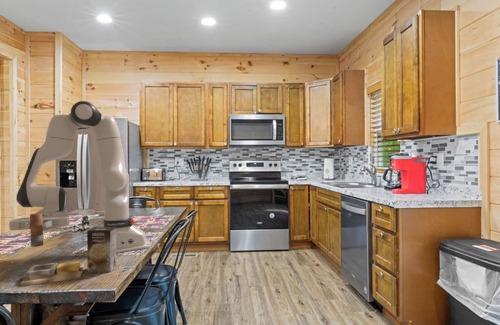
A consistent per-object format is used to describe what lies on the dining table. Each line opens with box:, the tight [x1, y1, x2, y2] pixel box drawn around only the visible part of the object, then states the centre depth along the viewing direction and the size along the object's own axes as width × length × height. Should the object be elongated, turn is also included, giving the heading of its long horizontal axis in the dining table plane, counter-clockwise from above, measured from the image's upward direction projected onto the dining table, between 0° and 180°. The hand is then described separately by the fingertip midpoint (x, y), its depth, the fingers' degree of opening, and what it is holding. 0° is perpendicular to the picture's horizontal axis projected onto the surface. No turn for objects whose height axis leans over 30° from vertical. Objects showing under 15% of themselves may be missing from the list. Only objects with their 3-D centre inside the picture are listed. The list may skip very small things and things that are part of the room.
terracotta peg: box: [29, 212, 44, 248], centre depth 122 cm, size 4×4×12 cm
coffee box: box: [86, 226, 117, 273], centre depth 125 cm, size 9×6×16 cm
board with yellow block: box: [20, 260, 85, 287], centre depth 119 cm, size 18×14×4 cm
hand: (36, 226), depth 121 cm, fingers closed on terracotta peg, 4 cm apart
